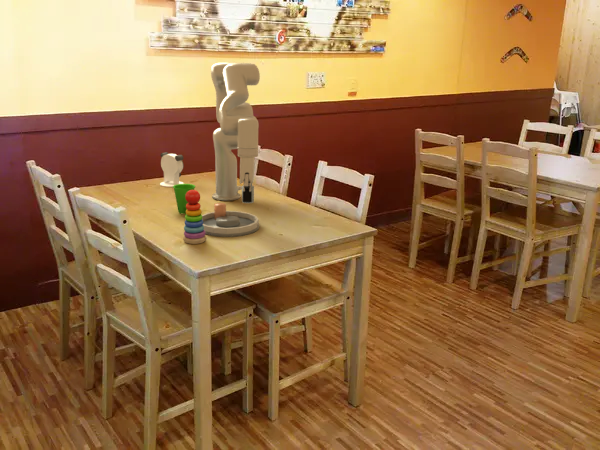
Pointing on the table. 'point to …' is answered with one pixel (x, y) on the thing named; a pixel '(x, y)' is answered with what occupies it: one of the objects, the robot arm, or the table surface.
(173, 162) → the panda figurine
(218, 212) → the salmon orange block
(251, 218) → the groove tray
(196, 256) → the table surface
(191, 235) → the stacking toy
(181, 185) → the cup
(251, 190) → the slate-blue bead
